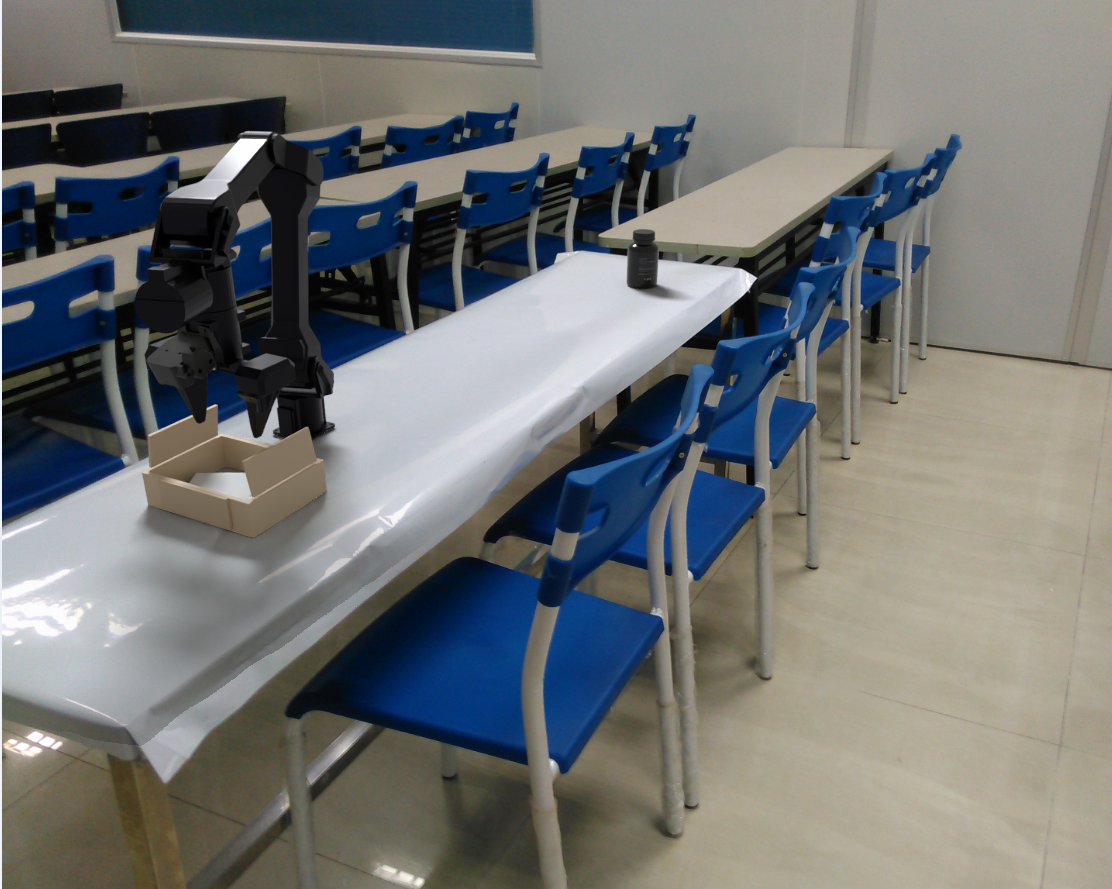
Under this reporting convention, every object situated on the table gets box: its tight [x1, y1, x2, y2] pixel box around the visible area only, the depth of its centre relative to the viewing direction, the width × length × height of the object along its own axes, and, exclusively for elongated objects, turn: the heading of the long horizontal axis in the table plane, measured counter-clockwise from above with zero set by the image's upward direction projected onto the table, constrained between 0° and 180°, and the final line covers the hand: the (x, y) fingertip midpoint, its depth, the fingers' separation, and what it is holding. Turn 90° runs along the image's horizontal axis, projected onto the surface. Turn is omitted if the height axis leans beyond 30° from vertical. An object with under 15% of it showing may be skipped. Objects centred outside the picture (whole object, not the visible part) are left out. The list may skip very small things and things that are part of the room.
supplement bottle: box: [626, 228, 660, 290], centre depth 210 cm, size 7×7×12 cm
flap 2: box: [242, 427, 317, 497], centre depth 114 cm, size 4×11×1 cm
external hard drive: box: [190, 472, 254, 501], centre depth 120 cm, size 2×8×12 cm
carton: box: [141, 433, 328, 539], centre depth 120 cm, size 14×17×4 cm
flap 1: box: [147, 404, 219, 468], centre depth 121 cm, size 4×11×1 cm
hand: (229, 429), depth 117 cm, fingers open, 9 cm apart
